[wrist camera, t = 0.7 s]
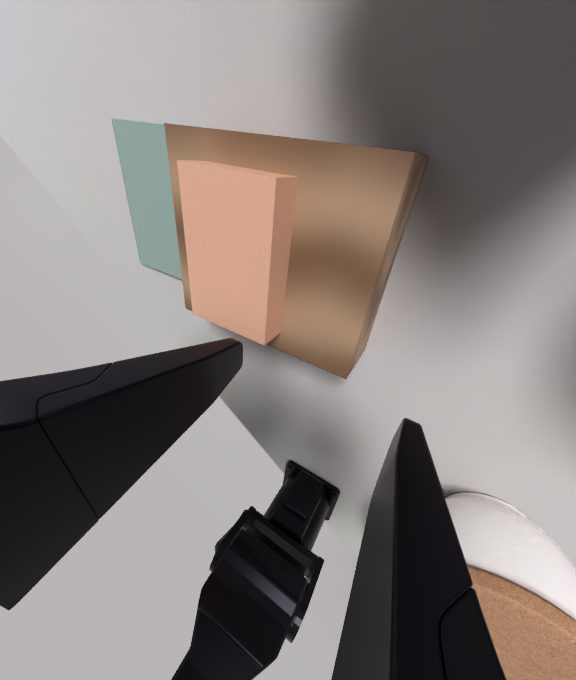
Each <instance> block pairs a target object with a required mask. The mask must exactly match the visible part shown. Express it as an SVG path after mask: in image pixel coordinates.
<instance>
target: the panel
mask: <svg viewBox="0 0 576 680" xmlns="http://www.w3.org/2000/svg"><path fill="white" fill-rule="evenodd" d="M112 124H113V129H114V134H115V139H116V144H117V149H118V154H119V159H120V164H121V169H122V174H123V179H124V184H125V189H126V194H127V199H128V204H129V209H130V214H131V219H132V224H133V229H134V234H135V239H136V244H137V249H138V254H139V259H140V263H141V264H143V265H146V266H148V267H151V268H153V269H156V270H158V271H161V272H164V273H166V274H169V275H171V276H174V277H176V278H179V279H181V280H182V272H181V264H180V255H179V247H178V238H177V229H176V221H175V212H174V204H173V195H172V187H171V178H170V170H169V161H168V153H167V144H166V135H165V127H164V125H162V124H153V123H145V122H136V121H128V120H119V119H112Z"/></svg>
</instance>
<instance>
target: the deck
mask: <svg viewBox="0 0 576 680" xmlns="http://www.w3.org/2000/svg"><path fill="white" fill-rule="evenodd" d="M164 127H165V135H166V144H167V153H168V161H169V170H170V178H171V187H172V195H173V204H174V212H175V221H176V229H177V238H178V247H179V255H180V264H181V272H182V281H183V289H184V298H185V306H186V309H188V310H191V311H192V303H191V293H190V283H189V274H188V264H187V254H186V244H185V235H184V225H183V215H182V205H181V196H180V186H179V176H178V166H177V160H191V161H208V162H214V163H220V164H225V165H231V166H237V167H243V168H249V169H255V170H260V171H266V172H272V173H278V174H284V175H289V176H295V177H298V183H297V192H296V201H295V210H294V219H293V228H292V238H291V247H290V256H289V265H288V274H287V283H286V292H285V302H284V311H283V320H282V329H281V332H280V333H279V334H278V335H277V336H275V337H274V338H273V339H272V340H271V341H269V342H268V343H267V345H270V346H272V347H274V348H277V349H279V350H281V351H283V352H286V353H288V354H290V355H292V356H295V357H297V358H299V359H301V360H304V361H306V362H308V363H310V364H313V365H315V366H317V367H319V368H322V369H324V370H326V371H329V372H331V373H333V374H335V375H338V376H340V377H342V378H344V379H347V377H348V375H349V374H350V372H351V371H352V369H353V368H354V366H355V364H356V363H357V361H358V360H359V358H360V356H361V355H362V353H363V352H364V350H365V348H366V344H367V341H368V338H369V335H370V332H371V329H372V326H373V323H374V320H375V317H376V314H377V311H378V308H379V305H380V302H381V299H382V296H383V293H384V290H385V287H386V284H387V280H388V277H389V274H390V271H391V268H392V265H393V262H394V259H395V256H396V253H397V250H398V247H399V244H400V241H401V238H402V235H403V232H404V229H405V226H406V223H407V219H408V216H409V213H410V210H411V207H412V204H413V201H414V198H415V195H416V192H417V189H418V186H419V183H420V180H421V177H422V174H423V171H424V168H425V165H426V162H427V159H428V156H426V155H423V154H420V153H417V152H411V151H402V150H393V149H385V148H376V147H367V146H358V145H350V144H341V143H332V142H324V141H315V140H306V139H297V138H289V137H280V136H271V135H263V134H254V133H245V132H236V131H228V130H219V129H210V128H202V127H193V126H184V125H175V124H167V123H164Z"/></svg>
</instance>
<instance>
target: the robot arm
mask: <svg viewBox="0 0 576 680" xmlns="http://www.w3.org/2000/svg"><path fill="white" fill-rule="evenodd" d="M242 363H243V345H242V343H241V342H240V341H237V340H235V339H233V338H228V339H223V340H218V341H214V342H209V343H204V344H199V345H194V346H189V347H185V348H180V349H175V350H170V351H166V352H160V353H155V354H151V355H146V356H141V357H136V358H132V359H126V360H122V361H117V362H114V363H113V364H112V363H107V364H103V365H98V366H92V367H87V368H82V369H76V370H71V371H64V372H58V373H53V374H45V375H39V376H32V377H26V378H19V379H12V380H6V381H0V606H2V607H4V608H6V609H7V610H10V609H11V608H13V607H14V606H15V605H16V604H17V603H18V602H19V601H20V600H21V599H22V598H23V597H24V596H25V595H26V594H27V593H28V592H29V591H30V590H31V589H32V588H33V587H34V586H35V585H36V584H37V583H38V582H39V581H40V580H41V579H42V578H43V577H44V576H45V574H47V573H48V571H49V570H50V569H51V568H52V567H53V566H54V565H55V564H56V563H57V562H58V561H59V560H60V559H61V558H62V557H63V556H64V555H65V554H66V553H67V552H68V551H69V550H70V549H71V548H72V547H73V546H74V545H75V544H76V543H77V542H78V541H79V540H80V539H81V538H82V537H83V536H84V535H85V534H86V533H87V532H88V531H89V530H90V529H91V528H92V527H93V526H94V525H95V524H96V523H97V522H98V520H99V519H100V518H101V517H102V516H103V515H104V514H105V513H106V512H107V511H108V510H109V509H110V508H111V507H112V506H113V505H114V504H115V503H116V502H117V501H118V500H119V499H120V498H121V497H122V496H123V495H124V494H125V493H126V491H128V489H130V488H131V486H132V485H133V484H134V483H135V482H136V481H137V480H138V479H139V478H140V477H141V476H142V475H143V474H144V473H145V472H146V471H147V470H148V469H149V468H150V467H151V466H152V465H153V464H154V463H155V462H156V461H157V460H158V459H159V458H160V457H161V456H162V455H163V454H164V453H165V452H166V451H167V450H168V449H169V448H170V447H171V446H172V445H173V444H174V443H175V442H176V440H177V439H178V438H179V437H180V436H181V435H182V434H183V433H184V432H185V431H186V430H187V429H188V428H189V427H190V426H191V425H192V424H193V423H194V422H195V421H196V420H197V419H198V418H199V417H200V416H201V415H202V414H203V413H204V412H205V411H206V410H207V409H208V408H209V406H211V404H212V403H213V402H214V401H215V400H216V399H217V398H218V396H219V395H220V394H221V393H222V391H223V390H224V389H225V387H226V386H227V385H228V384H229V382H230V381H231V380H232V379H233V377H234V376H235V375H236V374H237V372H238V371H239V370H240V368H241V366H242ZM339 495H340V491H339V490H338V489H337V488H335V487H334V486H332V485H330V484H329V483H327V482H325V481H324V480H322V479H320V478H319V477H317V476H315V475H314V474H312V473H310V472H309V471H307V470H305V469H304V468H302V467H300V466H299V465H297V464H295V463H294V462H292V461H288V463H287V464H286V470H285V475H284V481H283V486H282V487H281V489H280V490H279V492H278V494H277V495H276V497H275V498H274V500H273V502H272V503H271V505H270V507H269V508H268V510H267V511H266V513H265V515H264V516H263V515H262V514H260V513H259V512H258V511H256V509H255V508H254V507H253V506H251V507H250V508H249V509H248V510H244V512H243V513H242V515H241V516H240V518H239V519H238V521H237V522H236V523H235V525H234V526H233V527H232V528H231V529H230V530H229V531H228V532H227V533H226V534H225V535H224V536H223V537H222V538H221V539H220V540H219V541H218V542H217V544H216V546H215V555H214V558H213V560H212V563H211V565H210V571H211V572H212V573H211V574H210V576H209V577H208V579H207V581H206V582H205V584H204V585H203V587H202V590H201V594H200V598H199V603H198V610H197V615H196V621H195V626H194V631H193V637H192V642H191V646H190V649H189V651H188V652H187V654H186V656H185V658H184V659H183V661H182V663H181V664H180V666H179V668H178V670H177V671H176V673H175V674H174V676H173V678H172V680H252V679H254V678H255V677H256V676H257V675H258V674H260V673H261V672H262V671H263V670H264V669H266V668H267V667H268V666H269V665H270V664H271V663H272V662H273V661H274V660H275V659H276V658H277V656H278V654H279V652H280V649H281V647H282V644H283V642H284V640H285V637H286V639H287V640H288V641H290V642H291V643H292V642H293V640H294V638H295V636H296V634H297V632H298V630H299V627H300V625H301V623H302V620H303V618H304V615H305V613H306V610H307V608H308V605H309V602H310V600H311V597H312V594H313V591H314V588H315V585H316V582H317V580H318V577H319V574H320V571H321V568H322V566H323V562H324V559H322V558H321V557H318V556H317V555H315V554H314V553H312V552H311V550H312V547H313V545H314V543H315V540H316V538H317V536H318V534H319V531H320V529H321V527H322V524H323V522H324V520H329V518H330V516H331V514H332V511H333V509H334V506H335V504H336V502H337V499H338V497H339ZM304 576H305V577H306V578H307V579H306V578H305V577H304ZM472 586H473V582H472V579H471V576H470V573H469V570H468V567H467V563H466V560H465V557H464V554H463V551H462V548H461V545H460V542H459V539H458V536H457V533H456V530H455V527H454V524H453V521H452V518H451V515H450V512H449V509H448V506H447V503H446V500H445V497H444V493H443V490H442V487H441V484H440V481H439V478H438V475H437V472H436V469H435V466H434V463H433V460H432V457H431V454H430V451H429V448H428V445H427V442H426V439H425V436H424V433H423V430H422V427H421V425H420V424H419V423H416V422H414V421H412V420H410V419H408V418H404V419H403V420H402V422H401V424H400V426H399V428H398V430H397V432H396V434H395V435H394V437H393V440H392V442H391V444H390V447H389V450H388V453H387V455H386V458H385V461H384V464H383V466H382V469H381V472H380V475H379V478H378V480H377V483H376V486H375V489H374V492H373V495H372V499H371V503H370V507H369V511H368V516H367V520H366V525H365V529H364V534H363V539H362V543H361V548H360V552H359V557H358V561H357V566H356V570H355V575H354V580H353V584H352V589H351V594H350V598H349V602H348V607H347V612H346V616H345V620H344V625H343V630H342V634H341V639H340V643H339V648H338V652H337V657H336V661H335V666H334V671H333V676H332V680H507V679H506V676H505V674H504V671H503V669H502V666H501V664H500V661H499V658H498V655H497V652H496V649H495V646H494V644H493V641H492V638H491V635H490V632H489V629H488V626H487V624H486V621H485V618H484V615H483V612H482V609H481V606H480V603H479V600H478V596H477V593H476V591H475V589H474V588H471V587H472Z"/></svg>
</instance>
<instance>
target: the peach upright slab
mask: <svg viewBox="0 0 576 680" xmlns="http://www.w3.org/2000/svg"><path fill="white" fill-rule="evenodd" d="M177 166H178V176H179V186H180V196H181V205H182V215H183V225H184V235H185V244H186V254H187V264H188V274H189V283H190V293H191V303H192V313H193V314H194V315H197V316H199V317H201V318H203V319H206V320H208V321H210V322H212V323H215V324H217V325H219V326H221V327H224V328H226V329H228V330H230V331H233V332H235V333H237V334H239V335H241V336H244V337H246V338H248V339H250V340H253V341H255V342H257V343H259V344H262V345H264V346H265V345H266V344H267V343H268V342H269V341H271V340H272V339H273V338H274V337H275V336H277V335H278V334H279V333H280V332H281V329H282V320H283V311H284V302H285V292H286V283H287V274H288V265H289V256H290V247H291V238H292V228H293V219H294V210H295V201H296V192H297V183H298V177H295V176H289V175H284V174H278V173H272V172H266V171H260V170H255V169H249V168H243V167H237V166H231V165H225V164H220V163H214V162H208V161H191V160H177Z"/></svg>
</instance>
